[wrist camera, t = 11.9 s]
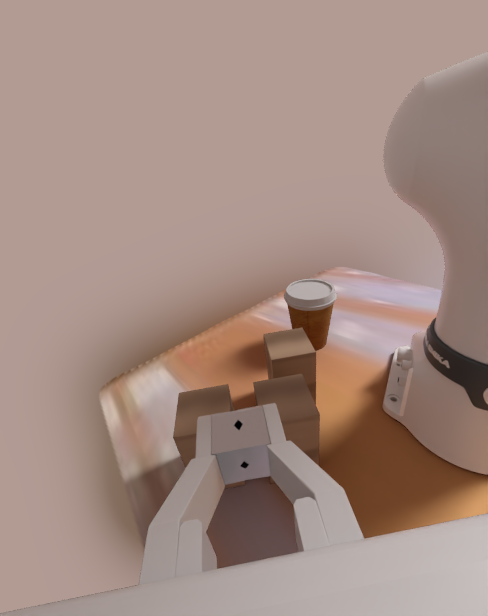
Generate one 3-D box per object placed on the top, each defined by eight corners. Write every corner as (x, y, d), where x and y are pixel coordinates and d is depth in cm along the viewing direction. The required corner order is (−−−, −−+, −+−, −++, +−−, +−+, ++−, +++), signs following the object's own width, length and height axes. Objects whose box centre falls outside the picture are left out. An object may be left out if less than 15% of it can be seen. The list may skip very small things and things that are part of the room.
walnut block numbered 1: (318, 474, 33) (319, 414, 28) (270, 483, 33) (261, 424, 27) (303, 429, 38) (301, 372, 33) (261, 437, 38) (252, 380, 33)
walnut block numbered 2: (315, 408, 41) (315, 352, 36) (277, 415, 41) (271, 359, 36) (303, 379, 47) (301, 326, 41) (269, 385, 46) (263, 333, 41)
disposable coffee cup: (303, 323, 61) (302, 274, 55) (343, 337, 55) (346, 284, 49) (277, 344, 56) (273, 293, 50) (318, 362, 50) (319, 306, 44)
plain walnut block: (245, 485, 33) (231, 426, 28) (196, 494, 33) (173, 437, 27) (240, 440, 38) (228, 384, 33) (198, 448, 38) (178, 393, 33)
